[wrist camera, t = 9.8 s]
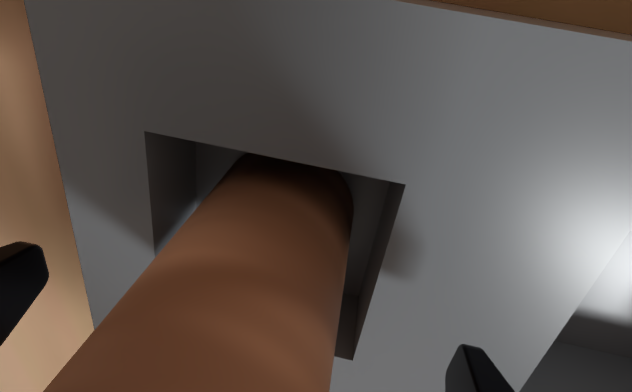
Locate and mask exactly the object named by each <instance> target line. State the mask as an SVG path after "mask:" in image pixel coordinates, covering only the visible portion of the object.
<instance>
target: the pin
mask: <svg viewBox="0 0 632 392" xmlns="http://www.w3.org/2000/svg"><path fill="white" fill-rule="evenodd" d="M353 214H354V206H353V199H352V195H351V192H350V189H349V187H348V185H347V183H346V181H345V180H344V178H343V177H342V175H341V174H340V173H339V172H338V171H337V170H332V169H327V168H323V167H318V166H313V165H308V164H303V163H298V162H293V161H288V160H283V159H279V158H274V157H269V156H264V155H259V154H254V153H249V152H248V153H246V154H245V155H243V156H242V157H241V158H239V159H238V160H237V161H236V162H235V163H234V164H233V166H232V167H231V168H230V169H229V170H228V171H227V173H226V174H225V175H224V176H223V177H222V179H221V180H220V181H219V182H218V183H217V185H216V186H215V187H214V188H213V189H212V191H211V192H210V193H209V194H208V195H207V197H206V198H205V199H204V200H203V201H202V203H201V204H200V205H199V206H198V207H197V208H196V210H195V211H194V212H193V213H192V214H191V216H190V217H189V218H188V219H187V220H186V222H185V223H184V224H183V225H182V226H181V228H180V229H179V230H178V231H177V232H176V234H175V235H174V236H173V237H172V238H171V240H170V241H169V242H168V243H167V244H166V246H165V247H164V248H163V249H162V250H161V251H160V253H159V254H158V255H157V256H156V257H155V259H154V260H153V261H152V262H151V263H150V265H149V266H148V267H147V268H146V269H145V271H144V272H143V273H142V274H141V275H140V277H139V278H138V279H137V280H136V281H135V283H134V284H133V285H132V286H131V287H130V289H129V290H128V291H127V292H126V293H125V294H124V296H123V297H122V298H121V299H120V300H119V302H118V303H117V304H116V305H115V306H114V308H113V309H112V310H111V311H110V312H109V314H108V315H107V316H106V317H105V318H104V320H103V321H102V322H101V323H100V324H99V326H98V327H97V328H96V329H95V330H94V331H93V333H92V334H91V335H90V336H89V337H88V339H87V340H86V341H85V342H84V343H83V345H82V346H81V347H80V348H79V349H78V351H77V352H76V353H75V354H74V355H73V357H72V358H71V359H70V360H69V361H68V363H67V364H66V365H65V366H64V367H63V369H62V370H61V371H60V372H59V373H58V374H57V376H56V377H55V378H54V379H53V380H52V382H51V383H50V384H49V385H48V386H47V388H46V389H45V390H44V391H43V392H329V390H330V382H331V375H332V368H333V360H334V353H335V346H336V338H337V331H338V324H339V317H340V309H341V302H342V295H343V287H344V280H345V273H346V265H347V258H348V251H349V244H350V236H351V229H352V222H353Z"/></svg>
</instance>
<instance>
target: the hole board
mask: <svg viewBox="0 0 632 392" xmlns="http://www.w3.org/2000/svg"><path fill="white" fill-rule="evenodd" d="M24 4H25V8H26V13H27V18H28V22H29V27H30V32H31V36H32V41H33V46H34V50H35V55H36V60H37V64H38V69H39V74H40V78H41V83H42V87H43V92H44V97H45V101H46V106H47V111H48V115H49V120H50V125H51V129H52V134H53V139H54V143H55V148H56V153H57V157H58V162H59V167H60V171H61V176H62V181H63V185H64V190H65V195H66V199H67V204H68V209H69V213H70V218H71V222H72V227H73V232H74V236H75V241H76V246H77V250H78V255H79V260H80V264H81V269H82V274H83V278H84V283H85V288H86V292H87V297H88V302H89V306H90V311H91V316H92V320H93V325H94V330H95V329H96V328H97V327H98V326H99V324H100V323H101V322H102V321H103V320H104V318H105V317H106V316H107V315H108V314H109V312H110V311H111V310H112V309H113V308H114V306H115V305H116V304H117V303H118V302H119V300H120V299H121V298H122V297H123V296H124V294H125V293H126V292H127V291H128V290H129V289H130V287H131V286H132V285H133V284H134V283H135V281H136V280H137V279H138V278H139V277H140V275H141V274H142V273H143V272H144V271H145V269H146V268H147V267H148V266H149V265H150V263H151V262H152V261H153V260H154V259H155V257H156V256H157V255H158V254H159V253H160V251H161V250H162V249H163V248H164V247H165V246H166V244H167V243H168V242H169V241H170V240H171V238H172V237H173V236H174V235H175V234H176V232H177V231H178V230H179V229H180V228H181V226H182V225H183V224H184V223H185V222H186V220H187V219H188V218H189V217H190V216H191V214H192V213H193V212H194V211H195V210H196V208H197V207H198V206H199V205H200V204H201V203H202V201H203V200H204V199H205V198H206V197H207V195H208V194H209V193H210V192H211V191H212V189H213V188H214V187H215V186H216V185H217V183H218V182H219V181H220V180H221V179H222V177H223V176H224V175H225V174H226V173H227V171H228V170H229V169H230V168H231V167H232V166H233V164H234V163H235V162H236V161H237V160H238V159H239V158H241V157H242V156H243V155H245V154H246V153H248V152H249V153H254V154H259V155H264V156H269V157H274V158H279V159H283V160H288V161H293V162H298V163H303V164H308V165H313V166H318V167H323V168H327V169H332V170H337V171H338V172H339V173H340V174H341V175H342V177H343V178H344V180H345V181H346V183H347V185H348V187H349V189H350V192H351V195H352V199H353V206H354V214H353V222H352V229H351V236H350V244H349V251H348V258H347V265H346V273H345V280H344V287H343V295H342V302H341V309H340V317H339V324H338V331H337V338H336V346H335V353H334V360H333V368H332V375H331V382H330V390H329V392H445V375H446V370H447V368H448V366H449V364H450V362H451V360H452V358H453V356H454V354H455V352H456V350H457V348H458V346H459V345H461V344H468V345H472V346H476V347H480V348H482V349H483V350H484V351H485V352H486V353H487V355H488V356H489V357H490V359H491V360H492V361H493V363H494V364H495V365H496V367H497V368H498V369H499V371H500V372H501V373H502V375H503V376H504V377H505V379H506V380H507V381H508V383H509V384H510V385H511V387H512V388H513V389H514V391H515V392H632V35H629V34H623V33H617V32H612V31H606V30H600V29H594V28H588V27H583V26H577V25H571V24H565V23H559V22H553V21H548V20H542V19H536V18H530V17H524V16H518V15H513V14H507V13H501V12H495V11H489V10H484V9H478V8H472V7H466V6H460V5H454V4H449V3H443V2H437V1H431V0H24Z"/></svg>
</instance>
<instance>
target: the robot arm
mask: <svg viewBox="0 0 632 392" xmlns="http://www.w3.org/2000/svg"><path fill="white" fill-rule="evenodd" d="M48 278H49V272H48V268H47V264H46V261H45V257H44V253H43V250H42V248H41V247H40V246H38V245H36V244H31V243H27V242H15V243H12V244H9V245H6V246H3V247H0V346H1V345H2V344H3V342H4V341H5V340H6V338H7V337H8V336H9V334H10V333H11V332H12V330H13V329H14V328H15V326H16V325H17V323H18V322H19V321H20V319H21V318H22V317H23V315H24V314H25V312H26V311H27V310H28V308H29V307H30V306H31V304H32V303H33V302H34V300H35V299H36V297H37V296H38V295H39V293H40V292H41V291H42V289H43V288H44V286H45V285H46V283H47V281H48ZM445 392H515V391H514V389H513V388H512V387H511V385H510V384H509V383H508V381H507V380H506V379H505V377H504V376H503V375H502V373H501V372H500V371H499V369H498V368H497V367H496V365H495V364H494V363H493V361H492V360H491V359H490V357H489V356H488V355H487V353H486V352H485V351H484V350H483V349H482V348H480V347H476V346H472V345H468V344H461V345H459V346H458V348H457V350H456V352H455V354H454V356H453V358H452V360H451V362H450V364H449V366H448V368H447V370H446V375H445Z"/></svg>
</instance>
